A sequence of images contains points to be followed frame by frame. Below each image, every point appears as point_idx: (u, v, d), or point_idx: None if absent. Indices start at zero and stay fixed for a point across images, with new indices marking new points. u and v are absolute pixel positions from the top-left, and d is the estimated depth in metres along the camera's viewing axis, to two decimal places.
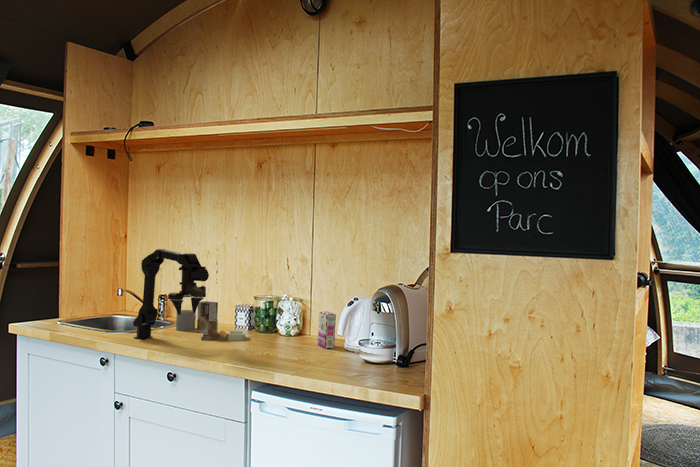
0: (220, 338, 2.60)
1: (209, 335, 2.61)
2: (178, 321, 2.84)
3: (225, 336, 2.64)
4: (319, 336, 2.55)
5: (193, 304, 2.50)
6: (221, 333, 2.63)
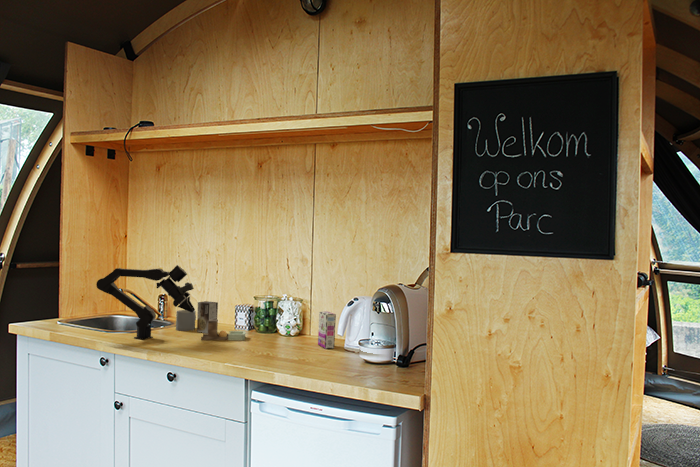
0: (220, 338, 2.60)
1: (209, 335, 2.61)
2: (178, 321, 2.84)
3: (225, 336, 2.64)
4: (319, 336, 2.55)
5: None
6: (221, 333, 2.63)
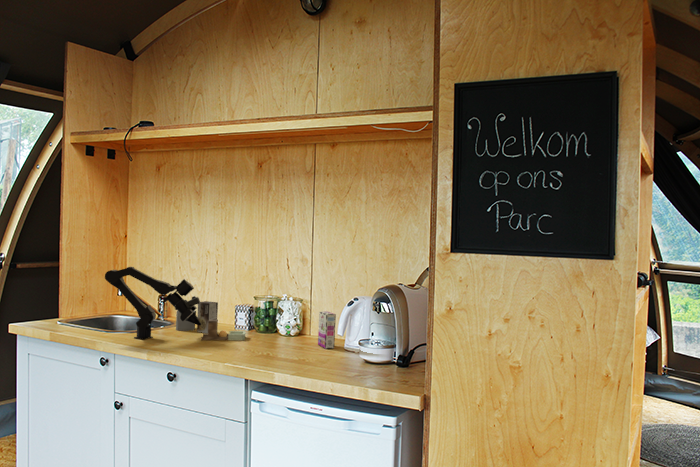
0: (220, 338, 2.60)
1: (209, 335, 2.61)
2: (178, 321, 2.84)
3: (225, 336, 2.64)
4: (319, 336, 2.55)
5: None
6: (221, 333, 2.63)
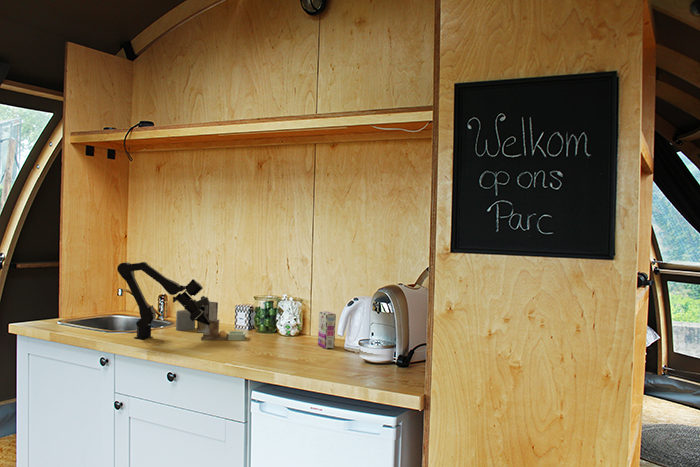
0: (220, 338, 2.60)
1: (211, 335, 2.61)
2: (178, 321, 2.84)
3: (225, 336, 2.64)
4: (319, 336, 2.55)
5: None
6: (221, 333, 2.63)
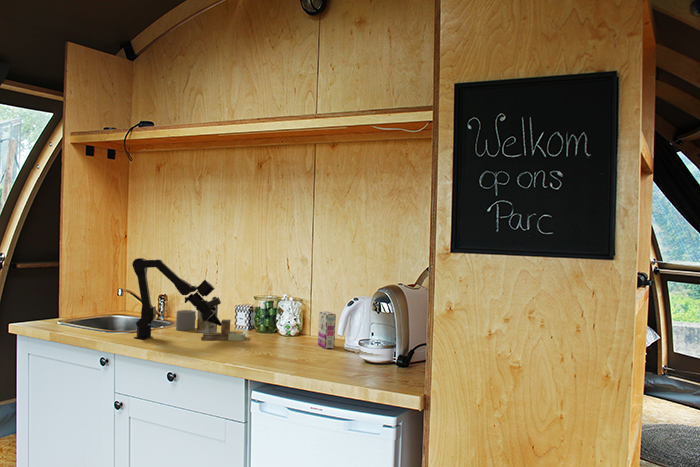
0: (220, 338, 2.60)
1: (222, 335, 2.62)
2: (178, 321, 2.84)
3: (237, 332, 2.65)
4: (319, 336, 2.55)
5: None
6: None
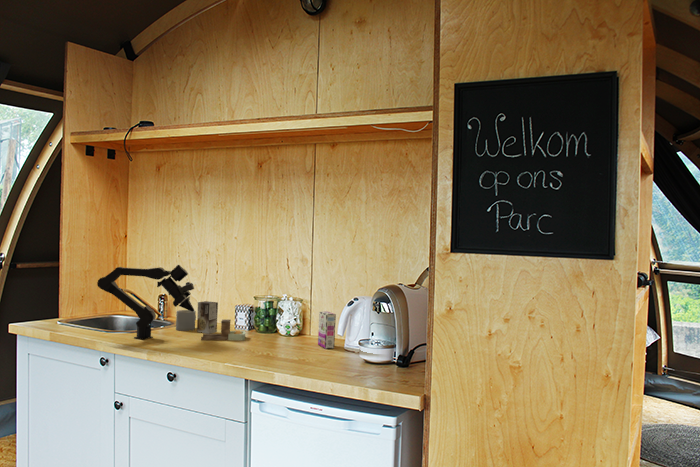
0: (220, 338, 2.60)
1: (222, 335, 2.62)
2: (178, 321, 2.84)
3: (236, 332, 2.65)
4: (319, 336, 2.55)
5: None
6: None
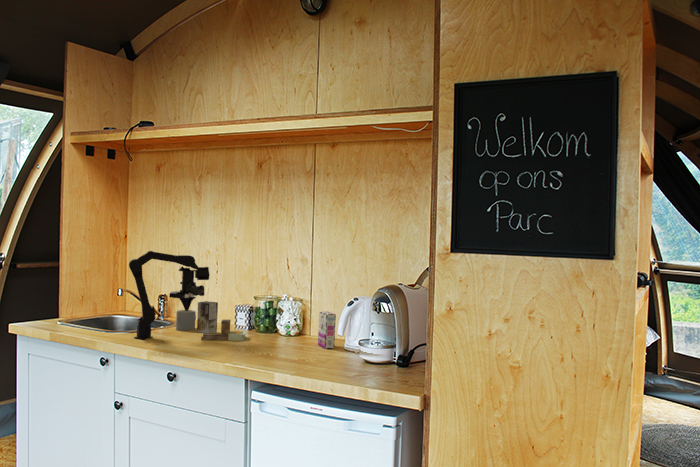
0: (220, 338, 2.60)
1: (222, 335, 2.62)
2: (178, 321, 2.84)
3: (235, 332, 2.65)
4: (319, 336, 2.55)
5: None
6: None
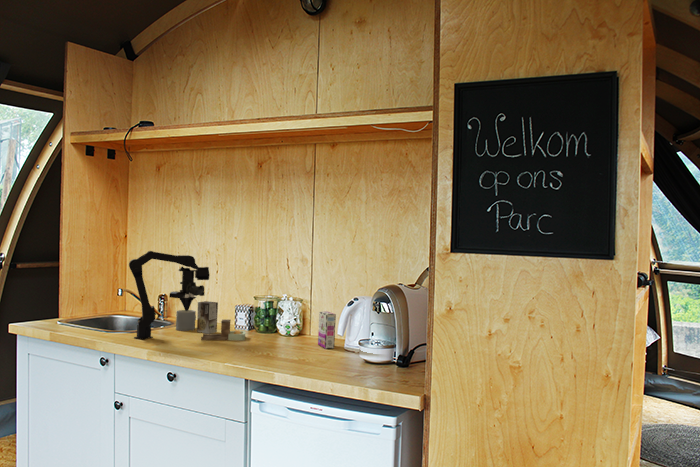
0: (220, 338, 2.60)
1: (222, 335, 2.62)
2: (178, 321, 2.84)
3: (235, 332, 2.65)
4: (319, 336, 2.55)
5: None
6: None
